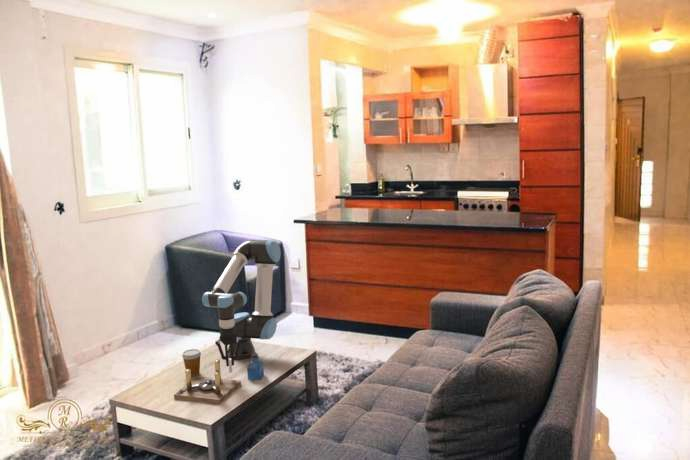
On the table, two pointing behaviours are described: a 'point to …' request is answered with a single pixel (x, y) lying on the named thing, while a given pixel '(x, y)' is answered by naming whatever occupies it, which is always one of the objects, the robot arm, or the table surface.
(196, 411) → the table surface
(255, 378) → the perfume bottle
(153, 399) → the table surface
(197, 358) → the disposable coffee cup
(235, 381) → the stand
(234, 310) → the robot arm
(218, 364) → the capstan
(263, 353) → the table surface
